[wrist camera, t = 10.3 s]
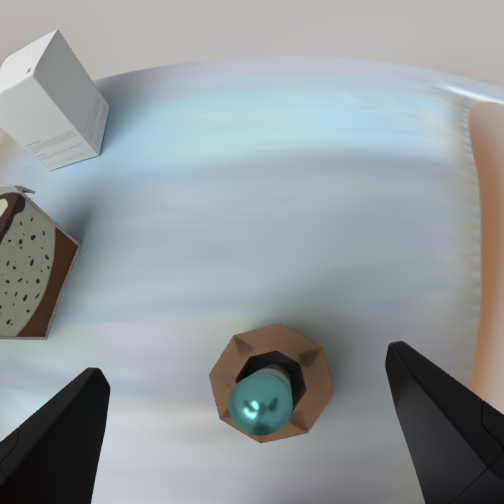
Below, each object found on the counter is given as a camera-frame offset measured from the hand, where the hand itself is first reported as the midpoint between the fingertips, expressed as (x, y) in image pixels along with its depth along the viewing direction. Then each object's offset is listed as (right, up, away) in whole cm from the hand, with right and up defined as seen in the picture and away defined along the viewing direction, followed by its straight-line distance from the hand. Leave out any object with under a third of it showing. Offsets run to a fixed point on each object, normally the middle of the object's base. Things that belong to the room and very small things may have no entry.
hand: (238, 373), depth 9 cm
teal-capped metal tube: (+2, -5, +13) cm, 14 cm away
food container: (-19, +1, +17) cm, 26 cm away
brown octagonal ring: (+2, -5, +13) cm, 14 cm away
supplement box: (-19, +16, +22) cm, 33 cm away
